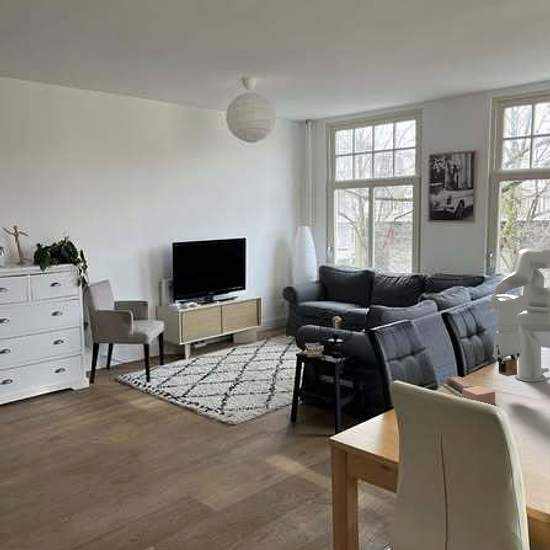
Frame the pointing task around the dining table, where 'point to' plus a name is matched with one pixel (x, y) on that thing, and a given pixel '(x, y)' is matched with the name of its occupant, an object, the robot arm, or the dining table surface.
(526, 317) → the robot arm
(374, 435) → the dining table surface
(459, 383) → the packaged product
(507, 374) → the walnut block
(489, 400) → the base block
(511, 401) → the dining table surface
